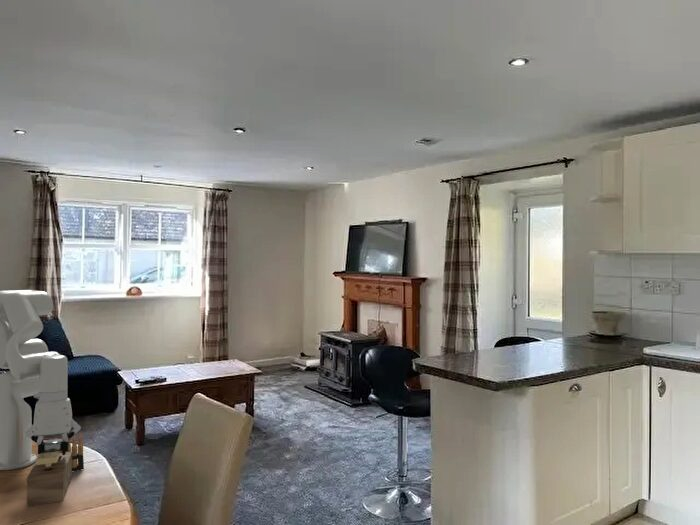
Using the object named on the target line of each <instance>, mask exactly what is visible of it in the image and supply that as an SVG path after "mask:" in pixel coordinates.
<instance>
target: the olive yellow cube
mask: <svg viewBox="0 0 700 525" xmlns="http://www.w3.org/2000/svg"><path fill="white" fill-rule="evenodd" d="M58 459H59V451H57V452H48V453H40V454H38V456H37V460H36V461H37V465H41V464H46V471H50V470H51V463H57V461H58Z"/></svg>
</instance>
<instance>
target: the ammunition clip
mask: <svg viewBox="0 0 700 525" xmlns="http://www.w3.org/2000/svg"><path fill="white" fill-rule="evenodd" d="M54 439H58V437H57V436H56V437H54ZM60 439H62V440H64V439H63V436H62V435H61V438H60ZM48 440H52V439H51V437H49V439H48ZM71 445H72V446H71ZM66 452H72V471H74V472H78V471H77V470H79V471H82V470H81V469H85V465H84V464H85V463H84V443H83V435H82V433H81V432H80V433H79V436H78V442H77V435H76V433H75V434H74V435H73V436H72V443H71V438H70V439H69V448H68V451H66ZM59 453H62V451H59Z"/></svg>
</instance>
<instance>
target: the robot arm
mask: <svg viewBox="0 0 700 525" xmlns="http://www.w3.org/2000/svg"><path fill="white" fill-rule="evenodd" d="M53 308H54V302H53V298H52V297H51V295H50V294H49V293H48V292H46V291H44V290H36V289H18V290H17V289H16V290H13V289H12V290H9V289H7V290H0V369H4V370H7V369H9V371H5V372H3V373H1V374H0V471H10V470H11V471H12V470H18V469H21V468H25V467H28V466H31V465H32V464H35V463H36V461H37V458H38V456H37V455H40V453H44V452H43V443H44V442H45V441H44V438H45V436H54V435H61V437H62V436H63V439H64V440H63V443H62V455H65V454H66V451H68V448H69V439H70V440H71V439H72V438H73V436H74V434H75V435H76V434H77V433H78V432H79V431H81V428H82V427H81V425H80V424H78V423H77V421H75V420H74V419H73V410H72V404H71V403H72V402H71V399H70V398H69V397H68V371H69V370H68V368H69V367H68V363H69V361H68V357H67V356H66V355H63V354H60V353H59V352H57V351H49V348H48V345H47V344H46V342H45V341H44V340H42V339H40V338H37V337H38V336H39V335H41V333H42V332H43V330H44V324H43V322H42V320H41V318H40V316H47V315H50V314H51V313H52V310H53ZM32 396H33V398H34V399H38V401H36V403H35V408H34V412H33V411H32V407H31V406H30V404H29V403H27V402H26V401H25V400H24V398H28V397H32ZM32 412H33V418H32ZM32 420H33V424H32ZM72 428H73V429H72ZM71 429H72V430H71ZM32 441H33V442H34V443H35V444H36V445H37V455H36V454H34V453H32V448H33V447H32Z"/></svg>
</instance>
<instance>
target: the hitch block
mask: <svg viewBox="0 0 700 525" xmlns="http://www.w3.org/2000/svg"><path fill="white" fill-rule="evenodd" d="M72 477H73V472H72V451H71V452H66V454H65V455H62V453H59V461H57V463H51V470H50V471H46V464H41V465H37V460H36V461H35V462H34V465H33V467H32V468H31V470H30V472H29V473H28V475H27V478H26V481H27V482H26V506H27V507H31V506H36V505H37V506H38V505H43V504H51V503H59V502H63V501H64V500H65V497H66V494H67V492H68V488H69V486H70V483H71V481H72ZM70 480H71V481H70Z"/></svg>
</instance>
